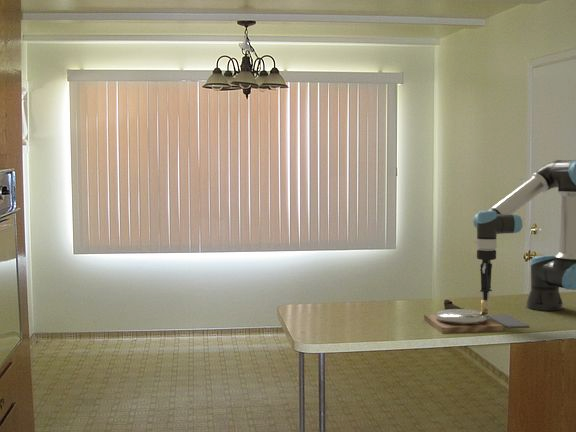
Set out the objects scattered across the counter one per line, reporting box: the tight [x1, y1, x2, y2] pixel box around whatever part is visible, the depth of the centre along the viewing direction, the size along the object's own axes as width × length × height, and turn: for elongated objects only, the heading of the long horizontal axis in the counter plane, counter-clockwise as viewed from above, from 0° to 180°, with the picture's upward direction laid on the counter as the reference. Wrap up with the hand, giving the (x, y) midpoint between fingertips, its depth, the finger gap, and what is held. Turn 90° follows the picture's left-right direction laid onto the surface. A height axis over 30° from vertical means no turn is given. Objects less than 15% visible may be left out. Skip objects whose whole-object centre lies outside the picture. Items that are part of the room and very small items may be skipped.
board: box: [423, 313, 504, 334], centre depth 300 cm, size 24×24×2 cm
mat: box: [488, 313, 530, 329], centre depth 305 cm, size 9×22×1 cm, turn 6°
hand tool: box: [443, 299, 464, 310], centre depth 324 cm, size 19×4×5 cm, turn 7°
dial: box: [436, 299, 489, 325], centre depth 300 cm, size 20×20×7 cm
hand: (485, 307), depth 304 cm, fingers closed
